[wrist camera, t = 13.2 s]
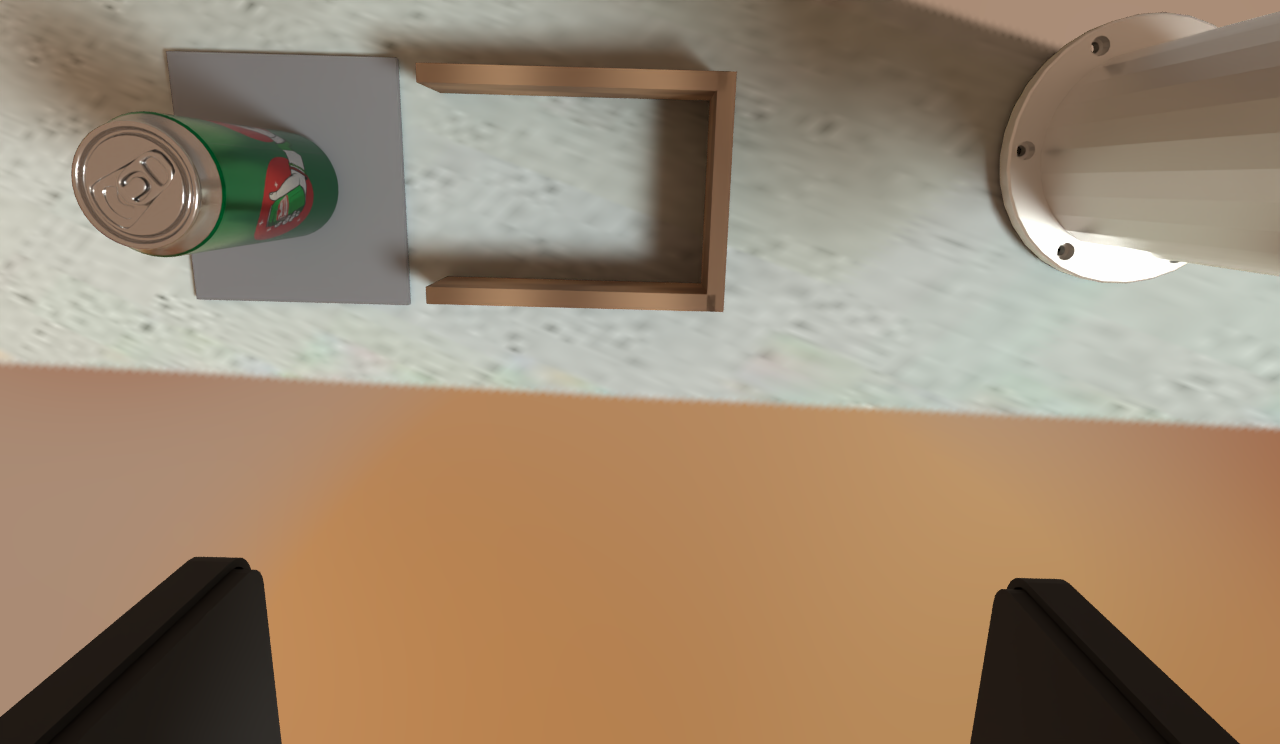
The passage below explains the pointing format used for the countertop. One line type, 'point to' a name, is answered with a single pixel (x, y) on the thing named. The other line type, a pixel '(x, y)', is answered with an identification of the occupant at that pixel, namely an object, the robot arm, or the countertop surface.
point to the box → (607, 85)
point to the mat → (354, 143)
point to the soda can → (200, 184)
